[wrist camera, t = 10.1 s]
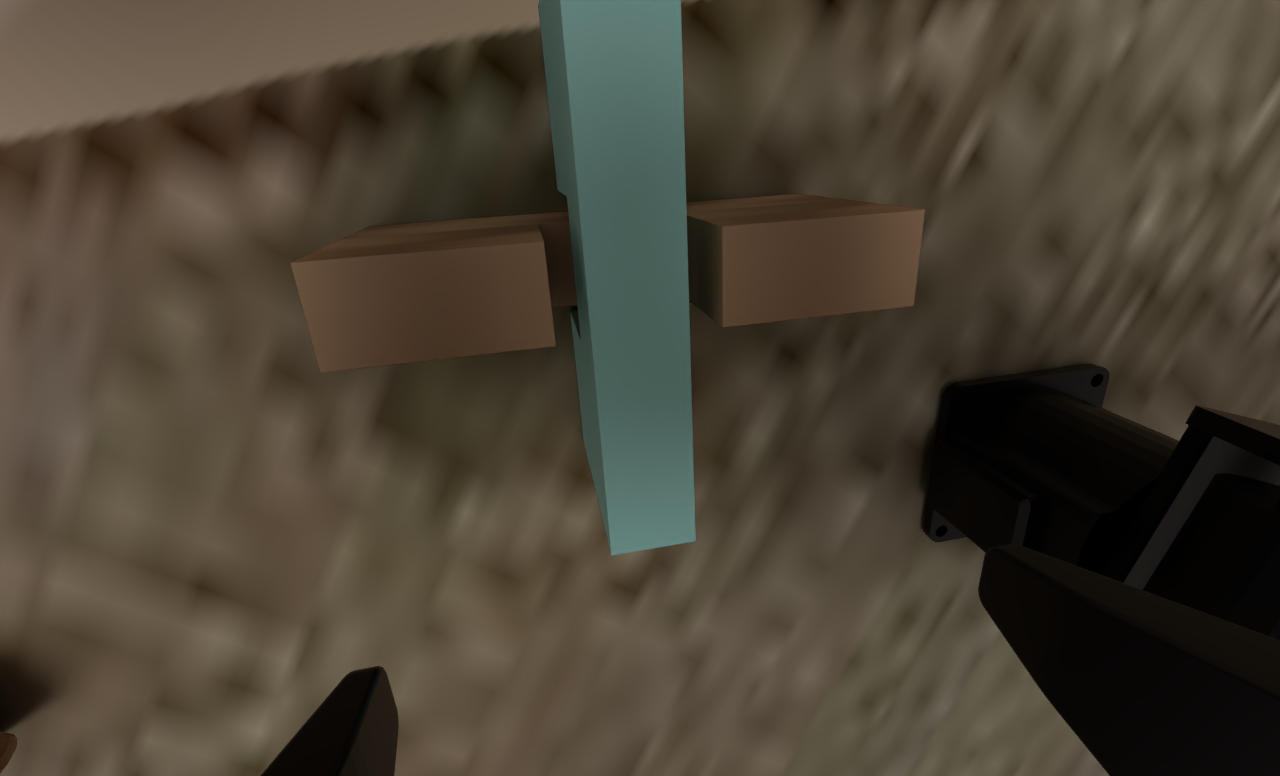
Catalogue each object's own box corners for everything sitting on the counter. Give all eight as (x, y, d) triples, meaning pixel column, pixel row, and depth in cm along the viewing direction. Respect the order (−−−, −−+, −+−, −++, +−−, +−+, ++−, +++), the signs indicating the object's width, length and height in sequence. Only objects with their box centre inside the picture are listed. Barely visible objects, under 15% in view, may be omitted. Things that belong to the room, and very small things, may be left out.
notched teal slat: (644, 432, 19) (695, 541, 14) (583, 441, 19) (611, 555, 14) (618, 4, 15) (678, -85, 9) (538, 6, 15) (552, -85, 9)
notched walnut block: (796, 193, 17) (925, 209, 12) (793, 262, 18) (914, 305, 13) (369, 225, 16) (289, 263, 10) (386, 300, 16) (320, 372, 11)
